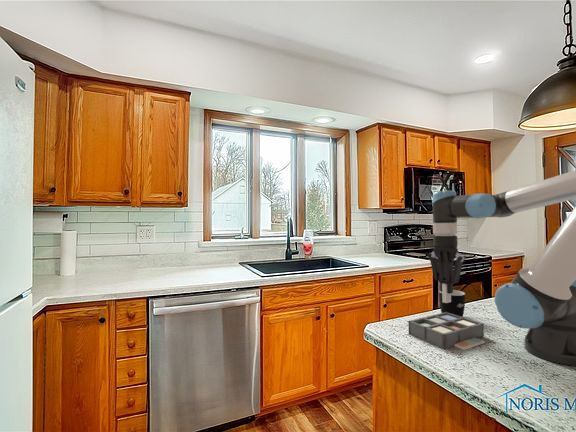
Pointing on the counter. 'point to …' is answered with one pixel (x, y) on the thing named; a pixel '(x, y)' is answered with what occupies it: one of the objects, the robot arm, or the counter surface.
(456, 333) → the gray compartment tray
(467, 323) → the key
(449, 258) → the robot arm
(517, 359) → the counter surface
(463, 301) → the mug
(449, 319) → the key
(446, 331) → the key
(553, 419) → the counter surface
